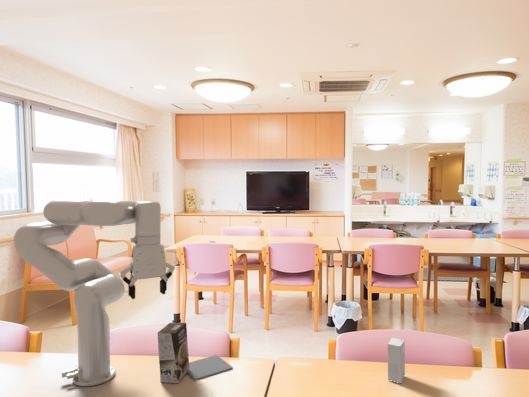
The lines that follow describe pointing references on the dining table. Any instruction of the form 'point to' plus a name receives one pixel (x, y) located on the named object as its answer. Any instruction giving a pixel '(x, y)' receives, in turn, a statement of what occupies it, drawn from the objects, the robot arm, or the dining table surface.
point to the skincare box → (396, 360)
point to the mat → (207, 367)
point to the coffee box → (173, 352)
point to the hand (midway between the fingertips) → (147, 295)
